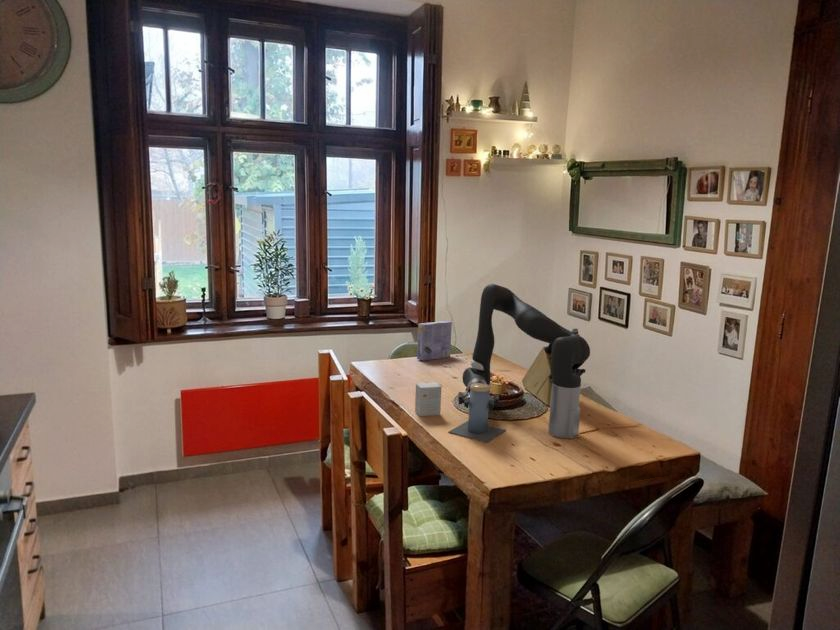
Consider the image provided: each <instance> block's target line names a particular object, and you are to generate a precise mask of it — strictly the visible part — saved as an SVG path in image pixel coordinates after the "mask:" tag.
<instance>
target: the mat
mask: <svg viewBox="0 0 840 630" xmlns="http://www.w3.org/2000/svg"><path fill="white" fill-rule="evenodd" d="M506 431H507V430H506V429H504V428H501V427H497V426H493V425H489V424H487V432H486V433H480V434H479V433H472V432H470V431H468V420H467V421H465V422H464V423H462V424H460V425H458V426H456V427H454V428H452V429H450V430H449V431H448V433H449V434H452V435H455V436H460V437H463V438H467V439H470V440H474V441H478V442H480V443H481V442H482V443H485V444H487V443H489V442H490V441H491V440H493V439H495V438H497V437H498V436H499V435H501V434H503V433H504V432H506Z"/></svg>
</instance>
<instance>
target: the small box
mask: <svg viewBox="0 0 840 630" xmlns="http://www.w3.org/2000/svg"><path fill="white" fill-rule="evenodd" d="M414 400H415V401H414V402H415V403H414V406H415V407H414V411H415V412H416V414H417V415H418V416H419V417H424V416H438V415H441V405H442V404H441V403H442V402H441V401H442V386H441V385H440V384H439V383H437V382H436V381H435V382H434V381H433V382H419V383H415V399H414Z"/></svg>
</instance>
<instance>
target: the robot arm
mask: <svg viewBox="0 0 840 630" xmlns="http://www.w3.org/2000/svg"><path fill="white" fill-rule="evenodd" d="M480 296H481V297H480V303H479V317H478V328H477V336H476V341H475V343H474V349H473V353H472V357H471V359H472V360H474V361H475V362H477V363H480V364H481V365H482V366H483V370H480V369H475V368H472V366H471V367H467V368H465V369H464V371H463V373H462V383H463V385H464V386H465V387H466V394H464V393H463V392H462V391H458V396H457V397H458V398H457V401H458V405H464V408H466V409H469V403H470V385H471V384H474V383H482V384H487V385H489V386H491V360H492V356H493V351H494V349H495V334H494V330H493V321H492V319H493V314H494V310H495V311H498V312H502V313H504V314H506V315H508V316H510V317H511V318H512V319H513V320H514V323H515V325H516V326H517V328H519V330H521V331H522V332H524V334H526V335H527V336H529V337H531V338H532V339H535V340H537V341H540V342H544V343H547V344H549V343H550V344H553V345H552V351H551V375H552V390H551V402H550V406H549V413H548V414H549V416H548V417H549V418H548V426H547V428H548V429H547V432H548V434H549V435H550V436H553V437H555V438H561V439H570V440H571V439H572V440H573V439H574V438H575V437H576V436H579V435H578V434H579V429H580V420H581V419H580V418H581V417H580V416H581V409H582V408H581V406H580V398H581V397H580V395H581V387H582V385H581V384H582V378H581V376H579V375H576V374H574V373H572V364H578V363H582V362H584V361H585V362H586V361H587V360H589V358H590V356H591V348H590V346H589V343H588V341H587V340H586V339H585V338H584V337H582V336H581V335H580V334H579V335H580V336H579V335H577V334H575V333H573V332H572V331H571V330H569V329H567V328H565V327H563V326H562V325H560V324H559V323H557V322H556V321H555V320H553V319H551V318H550V317H548V316H547V315H546V314H544V313H543V312H542V311H540V310H538V309H537V308H535V307H533V306H532V305H530V304H529V303H527V302H524V301H523V300H522V299H521V298H519V297H518V295H516V294H515V293H514V292H513V291H512V290H510V289H509V288H507V287H504V286H501V285H499V284H494V283H489V284H487V285H485V287H484V288H483V290H482V292H481V295H480ZM585 362H584V363H585ZM499 396H500V395H499V394H498V393H495V394H494V395H491V394H490V396H489V410H488V411H491V410H492V409H493V410H494V408H495V407H499V403H500V401H499V400H500V397H499Z"/></svg>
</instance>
